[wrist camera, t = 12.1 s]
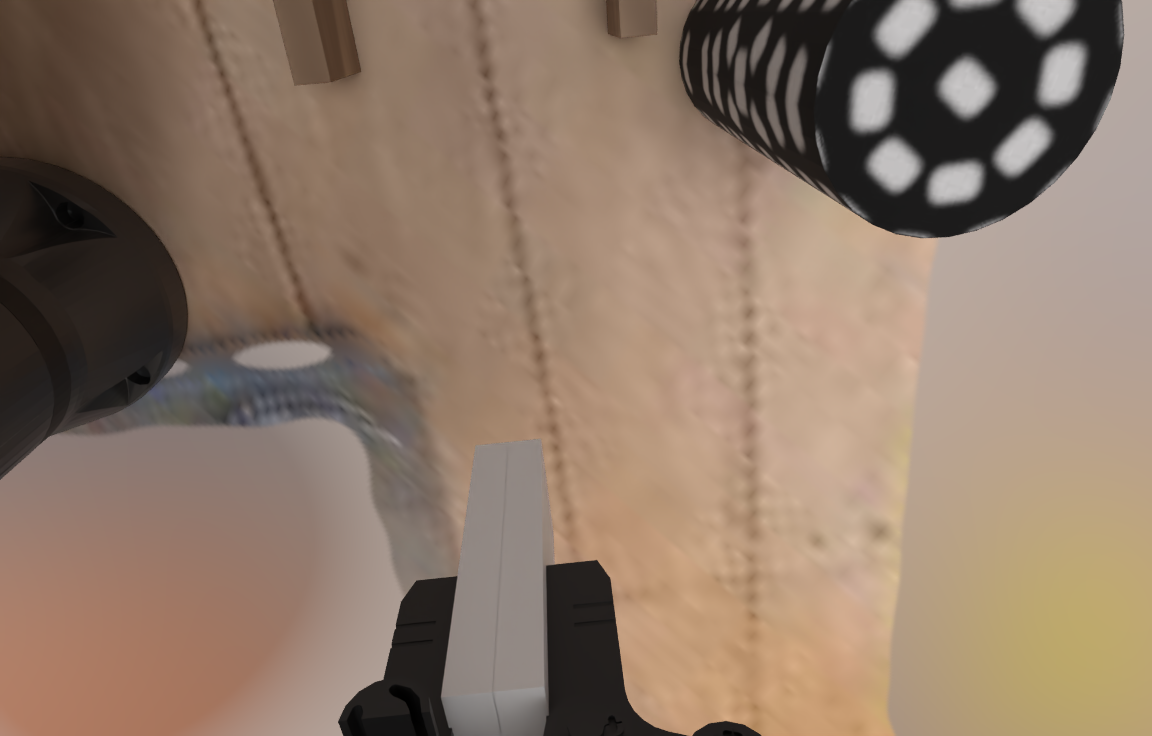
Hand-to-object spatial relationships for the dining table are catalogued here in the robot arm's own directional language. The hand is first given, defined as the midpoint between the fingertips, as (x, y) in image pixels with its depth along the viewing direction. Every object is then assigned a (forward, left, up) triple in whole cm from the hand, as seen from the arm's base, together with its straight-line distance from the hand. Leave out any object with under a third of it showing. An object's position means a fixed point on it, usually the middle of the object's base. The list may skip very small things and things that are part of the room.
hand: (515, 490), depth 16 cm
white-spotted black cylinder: (+13, +7, -27) cm, 30 cm away
